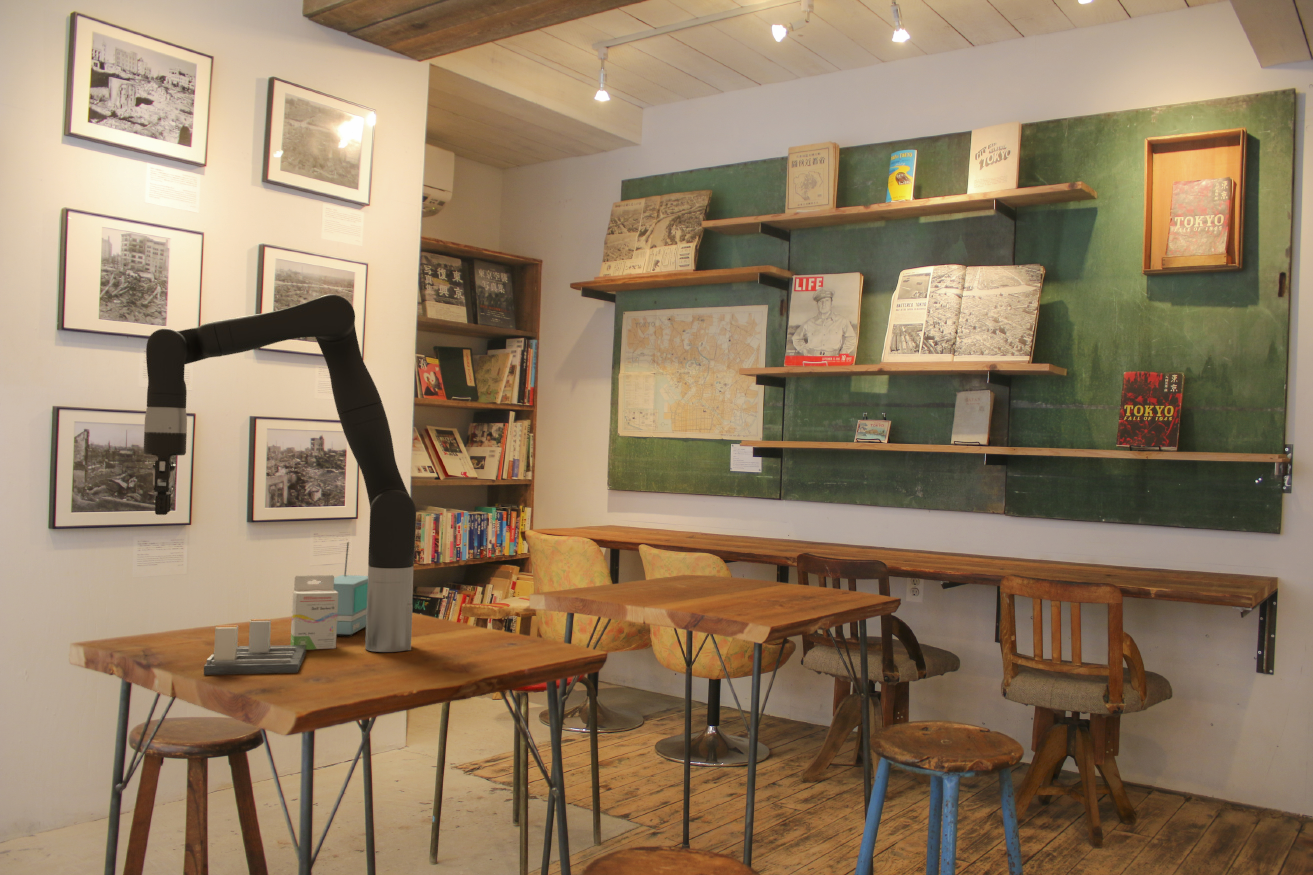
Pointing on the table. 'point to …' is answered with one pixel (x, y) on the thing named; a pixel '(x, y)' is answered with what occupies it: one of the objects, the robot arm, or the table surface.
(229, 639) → the fader near
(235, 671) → the gray slotted tray
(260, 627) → the fader far
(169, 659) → the table surface
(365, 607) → the radio
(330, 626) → the ink box
